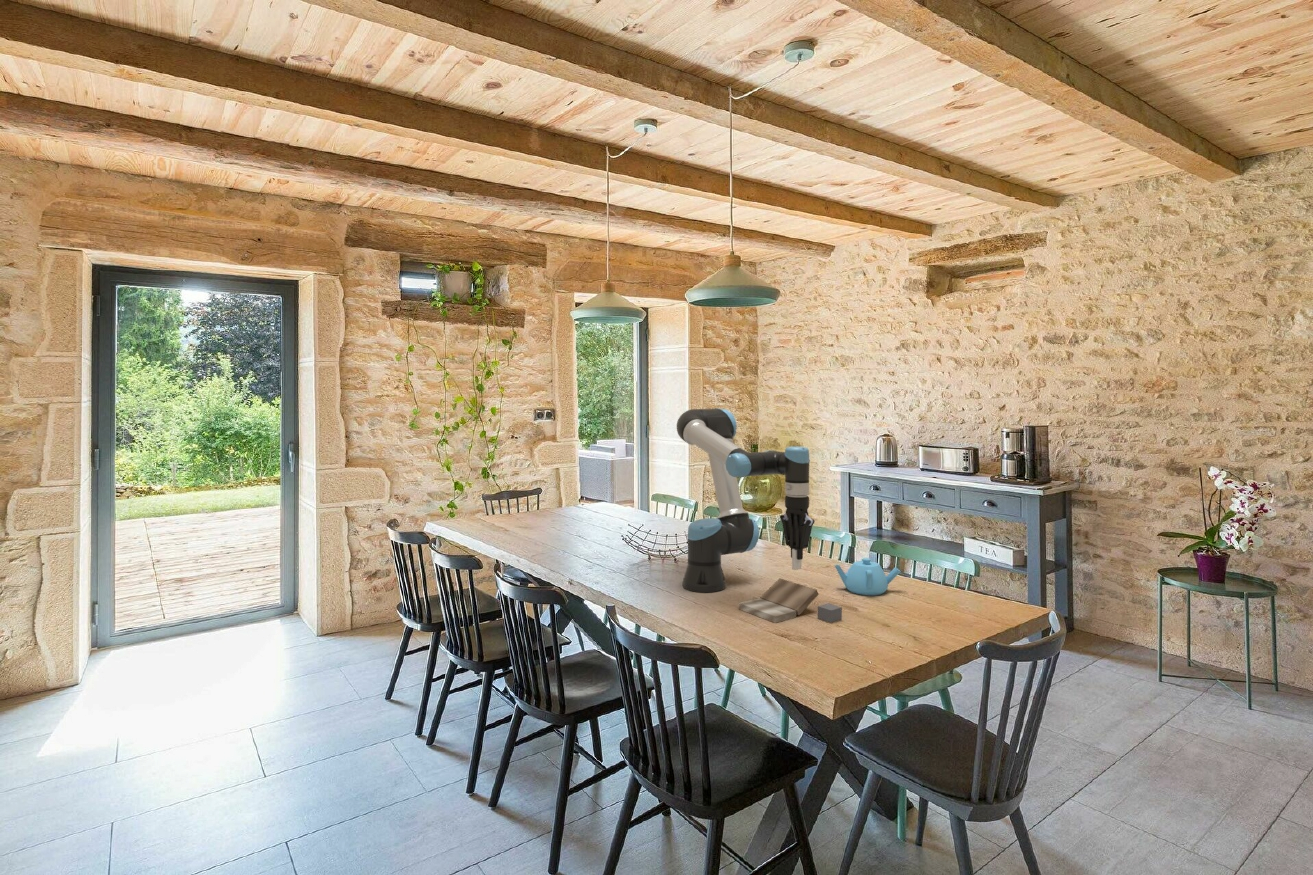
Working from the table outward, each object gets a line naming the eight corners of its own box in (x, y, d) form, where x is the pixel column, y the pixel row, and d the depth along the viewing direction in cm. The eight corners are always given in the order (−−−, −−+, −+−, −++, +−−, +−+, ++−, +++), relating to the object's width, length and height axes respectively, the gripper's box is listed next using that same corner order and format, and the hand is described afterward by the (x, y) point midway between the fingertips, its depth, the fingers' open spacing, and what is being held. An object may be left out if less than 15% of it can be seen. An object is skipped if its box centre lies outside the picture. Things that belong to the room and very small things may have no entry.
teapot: (876, 600, 230) (877, 567, 229) (832, 589, 243) (833, 557, 242) (901, 592, 240) (902, 559, 239) (858, 581, 253) (858, 551, 252)
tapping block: (817, 619, 212) (817, 606, 211) (828, 615, 215) (828, 603, 214) (830, 623, 208) (830, 610, 207) (841, 620, 211) (841, 607, 210)
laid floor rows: (738, 609, 221) (738, 602, 221) (759, 604, 226) (759, 597, 226) (774, 622, 208) (775, 616, 208) (796, 617, 213) (796, 610, 213)
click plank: (762, 602, 227) (760, 597, 226) (781, 582, 231) (779, 578, 230) (799, 615, 213) (796, 610, 213) (818, 594, 218) (816, 589, 217)
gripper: (773, 494, 225) (773, 566, 226) (804, 498, 214) (803, 574, 215) (790, 492, 229) (790, 563, 230) (820, 496, 218) (820, 571, 220)
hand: (796, 568), depth 223 cm, fingers closed
